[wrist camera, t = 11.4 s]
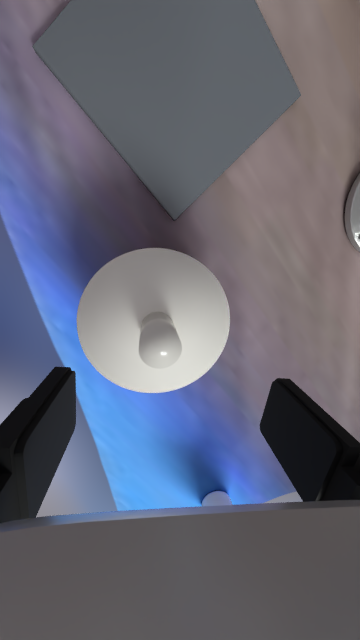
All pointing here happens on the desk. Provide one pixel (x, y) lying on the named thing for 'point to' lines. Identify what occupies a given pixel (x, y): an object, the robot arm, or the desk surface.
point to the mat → (171, 84)
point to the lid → (153, 320)
